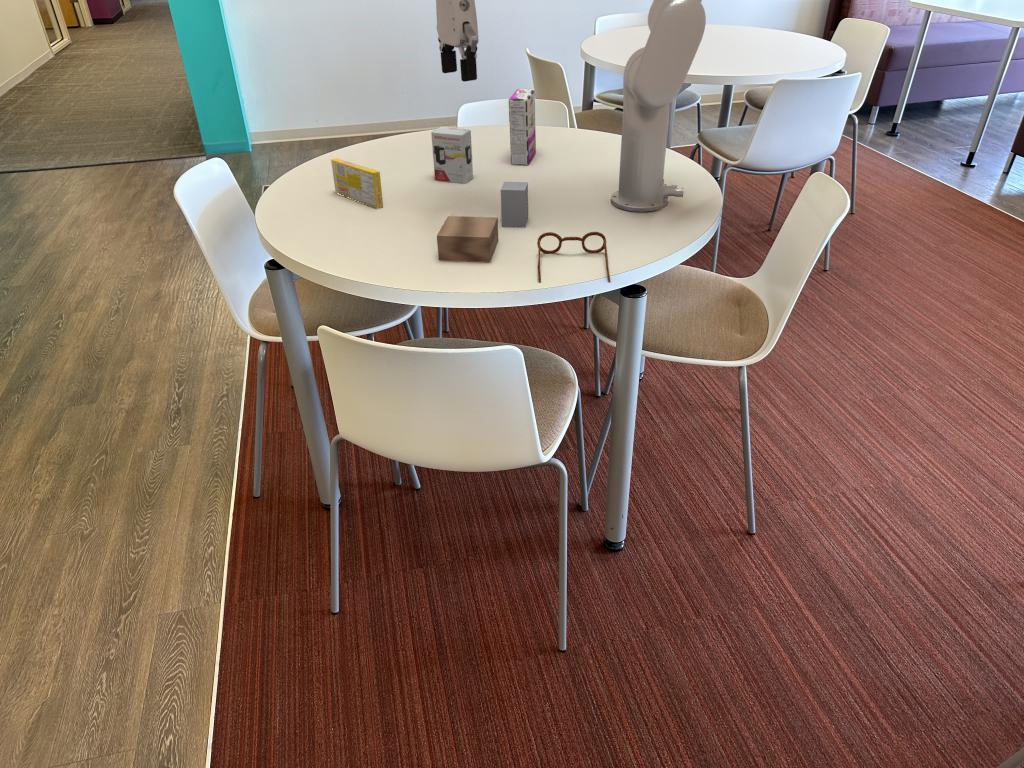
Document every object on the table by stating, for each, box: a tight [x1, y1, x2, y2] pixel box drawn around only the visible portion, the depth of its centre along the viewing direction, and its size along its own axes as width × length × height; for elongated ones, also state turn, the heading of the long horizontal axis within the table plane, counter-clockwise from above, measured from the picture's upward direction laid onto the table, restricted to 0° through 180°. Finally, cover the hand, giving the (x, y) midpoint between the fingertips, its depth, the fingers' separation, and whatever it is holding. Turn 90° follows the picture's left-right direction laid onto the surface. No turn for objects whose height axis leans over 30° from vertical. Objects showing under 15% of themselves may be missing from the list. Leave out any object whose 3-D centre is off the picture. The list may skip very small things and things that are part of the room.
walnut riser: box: [436, 215, 500, 263], centre depth 139 cm, size 10×10×5 cm
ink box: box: [430, 126, 474, 185], centre depth 173 cm, size 9×5×12 cm, turn 68°
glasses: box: [536, 231, 611, 284], centre depth 132 cm, size 13×13×5 cm
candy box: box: [330, 157, 384, 209], centre depth 164 cm, size 16×2×8 cm, turn 47°
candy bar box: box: [508, 88, 537, 166], centre depth 184 cm, size 11×5×16 cm, turn 168°
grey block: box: [500, 181, 529, 229], centre depth 150 cm, size 5×5×8 cm
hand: (459, 76), depth 145 cm, fingers open, 9 cm apart
